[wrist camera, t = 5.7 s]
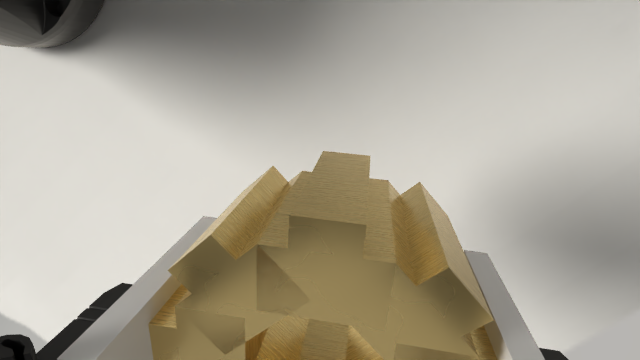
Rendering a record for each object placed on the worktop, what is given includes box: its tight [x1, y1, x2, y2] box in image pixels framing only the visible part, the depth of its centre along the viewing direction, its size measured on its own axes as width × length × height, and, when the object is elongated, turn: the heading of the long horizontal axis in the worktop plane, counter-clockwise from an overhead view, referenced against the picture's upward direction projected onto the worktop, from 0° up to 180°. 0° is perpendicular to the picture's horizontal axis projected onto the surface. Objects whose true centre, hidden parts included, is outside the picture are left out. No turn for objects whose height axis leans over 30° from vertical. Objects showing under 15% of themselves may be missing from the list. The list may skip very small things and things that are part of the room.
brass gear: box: [148, 151, 497, 360], centre depth 11 cm, size 9×9×5 cm
